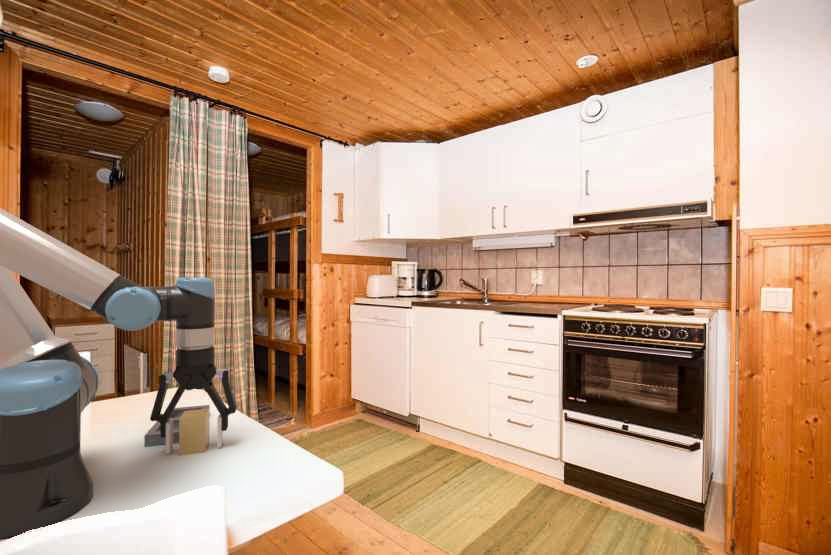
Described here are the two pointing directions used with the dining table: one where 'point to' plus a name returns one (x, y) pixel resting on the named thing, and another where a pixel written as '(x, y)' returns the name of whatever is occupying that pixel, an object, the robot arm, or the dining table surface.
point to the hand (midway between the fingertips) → (195, 448)
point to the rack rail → (154, 433)
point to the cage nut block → (194, 432)
